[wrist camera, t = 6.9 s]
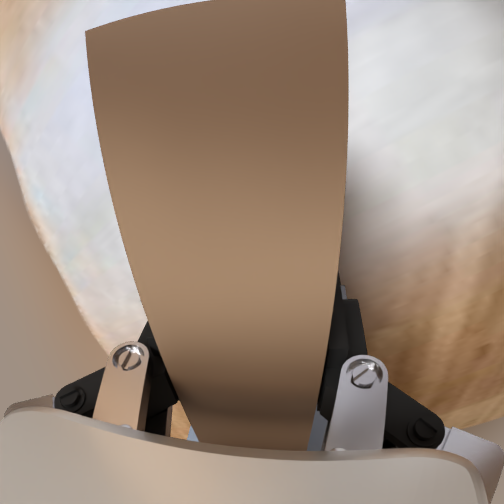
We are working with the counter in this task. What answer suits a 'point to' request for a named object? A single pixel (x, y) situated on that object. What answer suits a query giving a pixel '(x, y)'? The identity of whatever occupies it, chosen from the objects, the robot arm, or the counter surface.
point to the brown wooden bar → (231, 199)
